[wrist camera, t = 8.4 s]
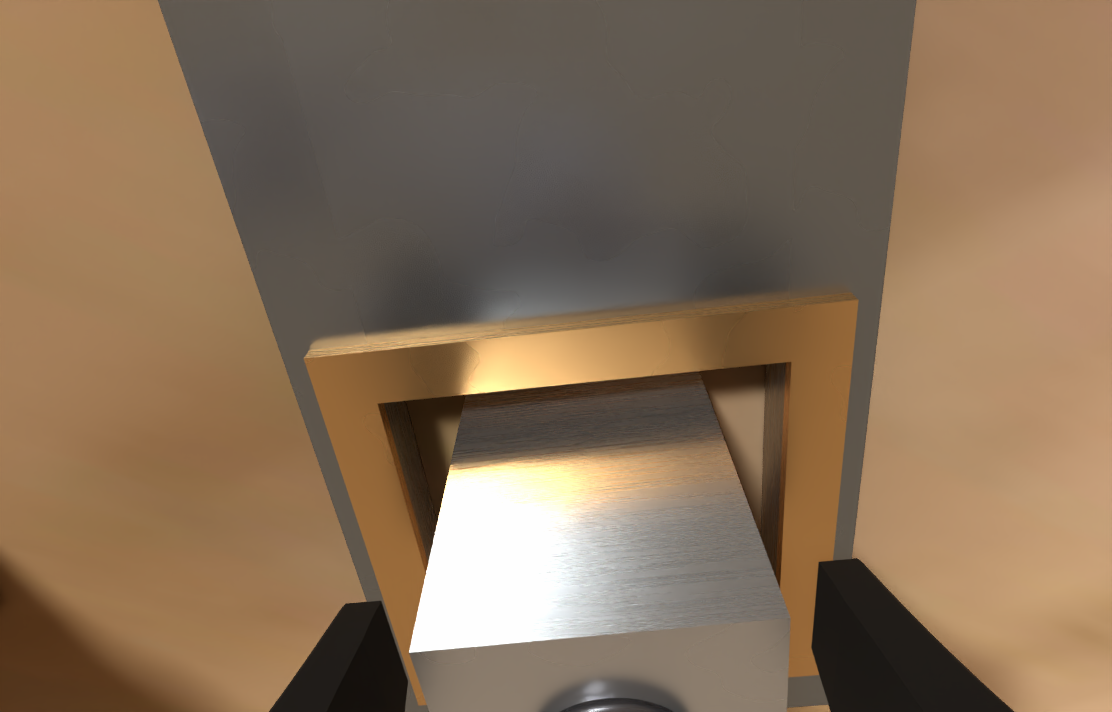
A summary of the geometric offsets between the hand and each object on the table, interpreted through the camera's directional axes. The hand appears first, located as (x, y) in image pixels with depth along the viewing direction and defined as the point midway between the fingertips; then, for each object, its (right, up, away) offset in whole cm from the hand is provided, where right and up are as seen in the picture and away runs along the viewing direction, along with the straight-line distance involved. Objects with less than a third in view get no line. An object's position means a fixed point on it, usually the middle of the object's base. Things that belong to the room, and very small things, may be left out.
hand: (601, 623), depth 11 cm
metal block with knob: (0, +2, +3) cm, 4 cm away
